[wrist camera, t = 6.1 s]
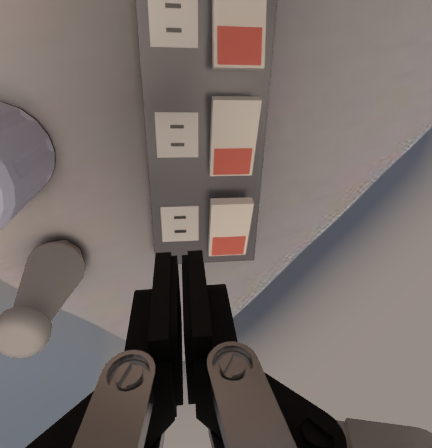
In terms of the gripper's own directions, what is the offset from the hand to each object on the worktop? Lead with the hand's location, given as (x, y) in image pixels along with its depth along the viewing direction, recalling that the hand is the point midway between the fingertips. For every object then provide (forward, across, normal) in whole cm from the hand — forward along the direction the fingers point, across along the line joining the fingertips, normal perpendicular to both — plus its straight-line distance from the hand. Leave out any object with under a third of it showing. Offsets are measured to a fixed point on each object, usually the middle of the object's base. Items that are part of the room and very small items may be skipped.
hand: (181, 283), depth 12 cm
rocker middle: (+19, -5, 0) cm, 20 cm away
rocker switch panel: (+23, -3, 0) cm, 24 cm away
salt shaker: (+23, +14, +13) cm, 30 cm away
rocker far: (+19, -5, +9) cm, 21 cm away
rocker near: (+19, -5, -9) cm, 22 cm away
